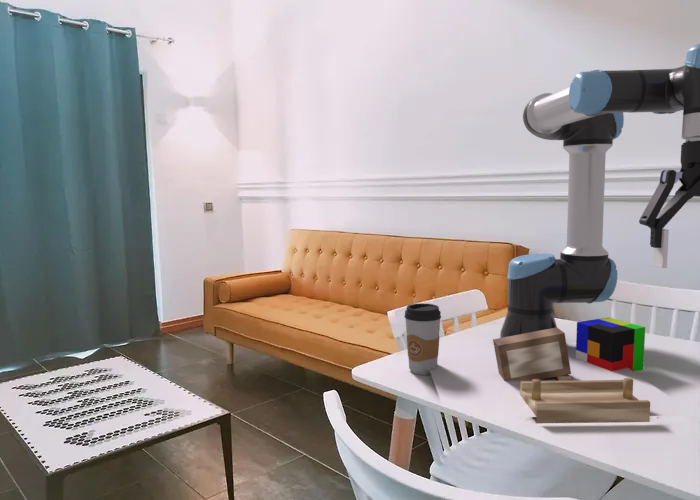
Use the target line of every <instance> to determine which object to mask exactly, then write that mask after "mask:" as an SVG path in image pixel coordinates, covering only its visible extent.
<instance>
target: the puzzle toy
mask: <svg viewBox="0 0 700 500" xmlns="http://www.w3.org/2000/svg"><path fill="white" fill-rule="evenodd" d="M575 336H576V342H575V359H577V360H579V361H582V362H584V363H588V364H590V365H594V366H595V367H599V368H601V369H604V370H607V371H609V372H614V371H619V370H624V369H628V370H630V371H631V372H632V373H635V372H639V371H643V370H644V362H645V361H644V360H645V359H644V358H645V343H646V341H645V339H646V327H645V326H642V325H638V324H635V323H631V322H628V321H624V320H619V319H616V318H612V317H601V318H597V319H596V318H594V319H590V320H589V319H587V320H584V321H577V322H576V335H575Z"/></svg>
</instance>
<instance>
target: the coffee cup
mask: <svg viewBox="0 0 700 500" xmlns="http://www.w3.org/2000/svg"><path fill="white" fill-rule="evenodd" d="M404 318H405V327H406V329H405V330H406V331H405V332H406V347H407V358H408V369H409V370H410V372H411V373H412V374H415V375H420V376H427V375H432V373H431V370H434V369H436V368H438V362H439V359H438V358H439V349H440V327H441V318H442V315H441V310H440V307H439V306H438V305H436V304H432V303H425V302H422V303H411V304H409V305H407V306H406V310H404Z"/></svg>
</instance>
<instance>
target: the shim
mask: <svg viewBox="0 0 700 500" xmlns="http://www.w3.org/2000/svg"><path fill="white" fill-rule="evenodd" d="M555 379H556V380H557V381H572V376H571V375H570V374H568V375H562V376H557V377H555Z"/></svg>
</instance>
